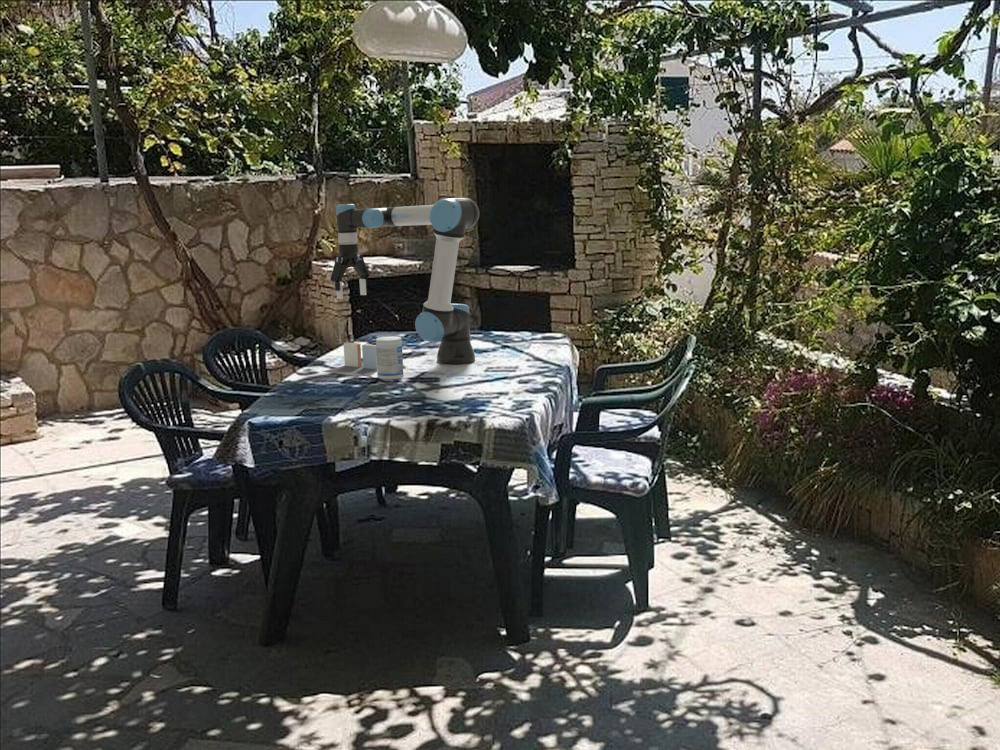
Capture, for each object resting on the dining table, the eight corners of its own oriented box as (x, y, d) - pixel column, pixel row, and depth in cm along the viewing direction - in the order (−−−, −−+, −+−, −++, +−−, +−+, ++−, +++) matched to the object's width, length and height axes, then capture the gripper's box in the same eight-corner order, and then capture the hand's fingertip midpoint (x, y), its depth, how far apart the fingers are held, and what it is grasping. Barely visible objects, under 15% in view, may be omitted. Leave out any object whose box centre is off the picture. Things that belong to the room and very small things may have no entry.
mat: (394, 366, 343) (394, 365, 343) (356, 377, 325) (356, 376, 325) (361, 362, 352) (361, 361, 352) (322, 372, 334) (322, 371, 334)
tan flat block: (361, 366, 342) (360, 343, 340) (358, 367, 340) (356, 344, 338) (348, 364, 345) (346, 342, 344) (344, 365, 344) (343, 343, 342)
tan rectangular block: (380, 368, 337) (379, 345, 335) (376, 369, 335) (375, 346, 333) (366, 367, 340) (365, 344, 338) (363, 368, 339) (361, 345, 337)
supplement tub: (405, 379, 319) (403, 339, 316) (378, 381, 317) (376, 341, 314) (401, 374, 328) (400, 335, 325) (376, 375, 326) (374, 336, 323)
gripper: (362, 241, 361) (365, 293, 366) (318, 245, 341) (322, 300, 346) (376, 241, 357) (379, 293, 362) (332, 245, 337) (336, 301, 341)
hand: (351, 297), depth 354 cm, fingers open, 13 cm apart
